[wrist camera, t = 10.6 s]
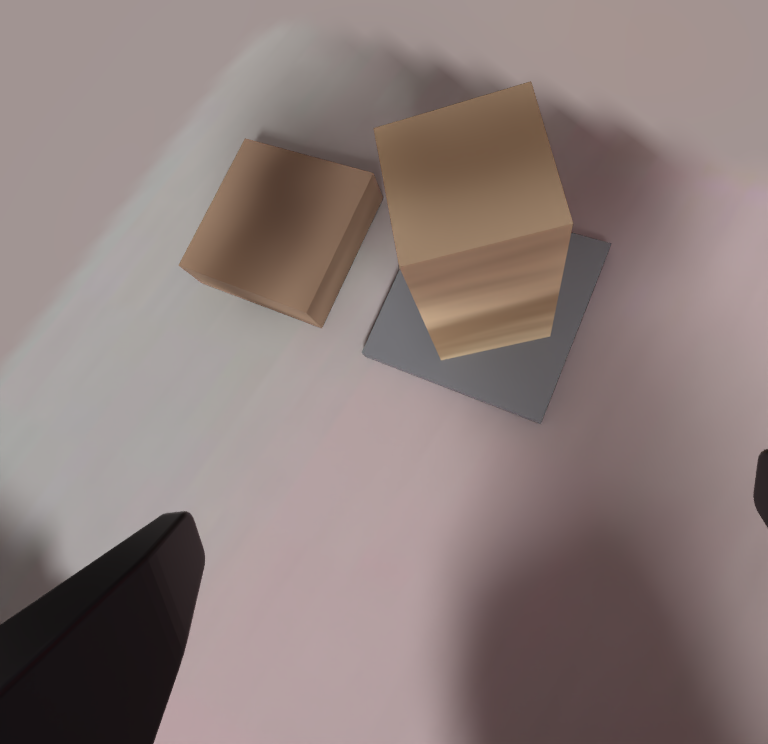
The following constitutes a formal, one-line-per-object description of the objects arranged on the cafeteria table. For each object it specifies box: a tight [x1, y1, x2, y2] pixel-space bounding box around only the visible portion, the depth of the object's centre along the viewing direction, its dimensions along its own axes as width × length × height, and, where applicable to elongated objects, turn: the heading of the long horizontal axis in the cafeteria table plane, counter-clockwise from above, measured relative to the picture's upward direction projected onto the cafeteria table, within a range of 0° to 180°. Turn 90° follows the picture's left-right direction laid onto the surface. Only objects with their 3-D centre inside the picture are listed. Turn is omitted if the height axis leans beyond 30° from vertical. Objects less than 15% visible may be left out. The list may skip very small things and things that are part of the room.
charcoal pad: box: [362, 233, 611, 424], centre depth 24 cm, size 8×8×1 cm
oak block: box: [374, 82, 573, 360], centre depth 19 cm, size 4×4×9 cm
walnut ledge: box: [179, 139, 383, 328], centre depth 26 cm, size 7×7×2 cm
